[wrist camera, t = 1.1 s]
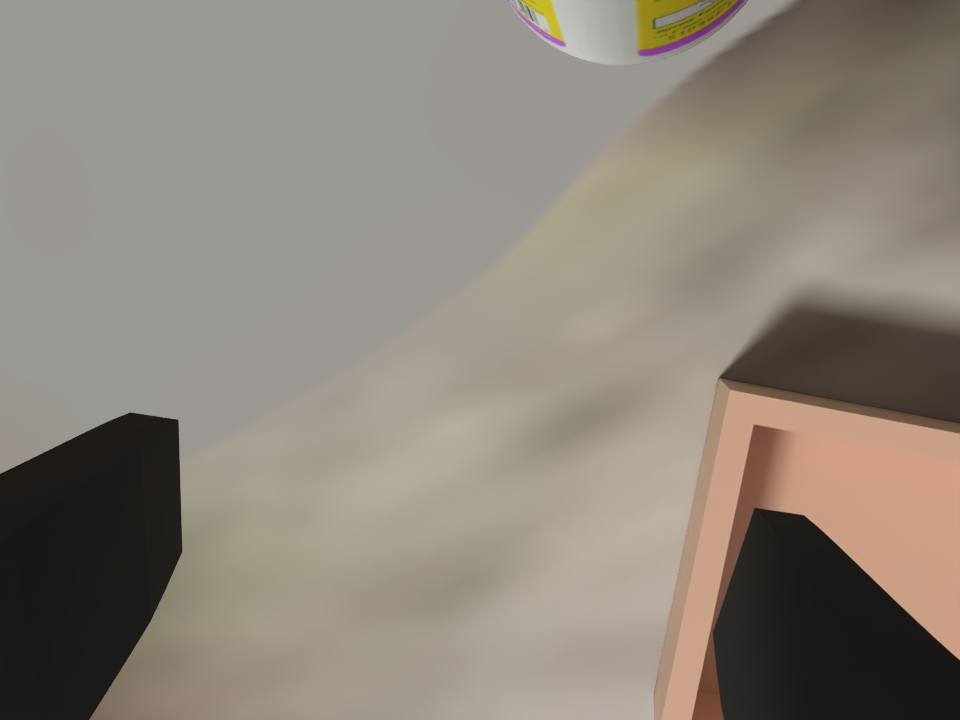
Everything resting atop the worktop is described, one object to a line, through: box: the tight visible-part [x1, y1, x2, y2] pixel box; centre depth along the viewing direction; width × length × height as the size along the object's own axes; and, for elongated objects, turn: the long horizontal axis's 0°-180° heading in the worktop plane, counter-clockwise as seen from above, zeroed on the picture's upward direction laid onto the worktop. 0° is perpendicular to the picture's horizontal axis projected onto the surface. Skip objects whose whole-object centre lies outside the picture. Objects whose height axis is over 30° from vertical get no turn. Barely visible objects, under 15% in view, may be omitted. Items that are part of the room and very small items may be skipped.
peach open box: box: [654, 378, 960, 720], centre depth 18 cm, size 8×10×3 cm
